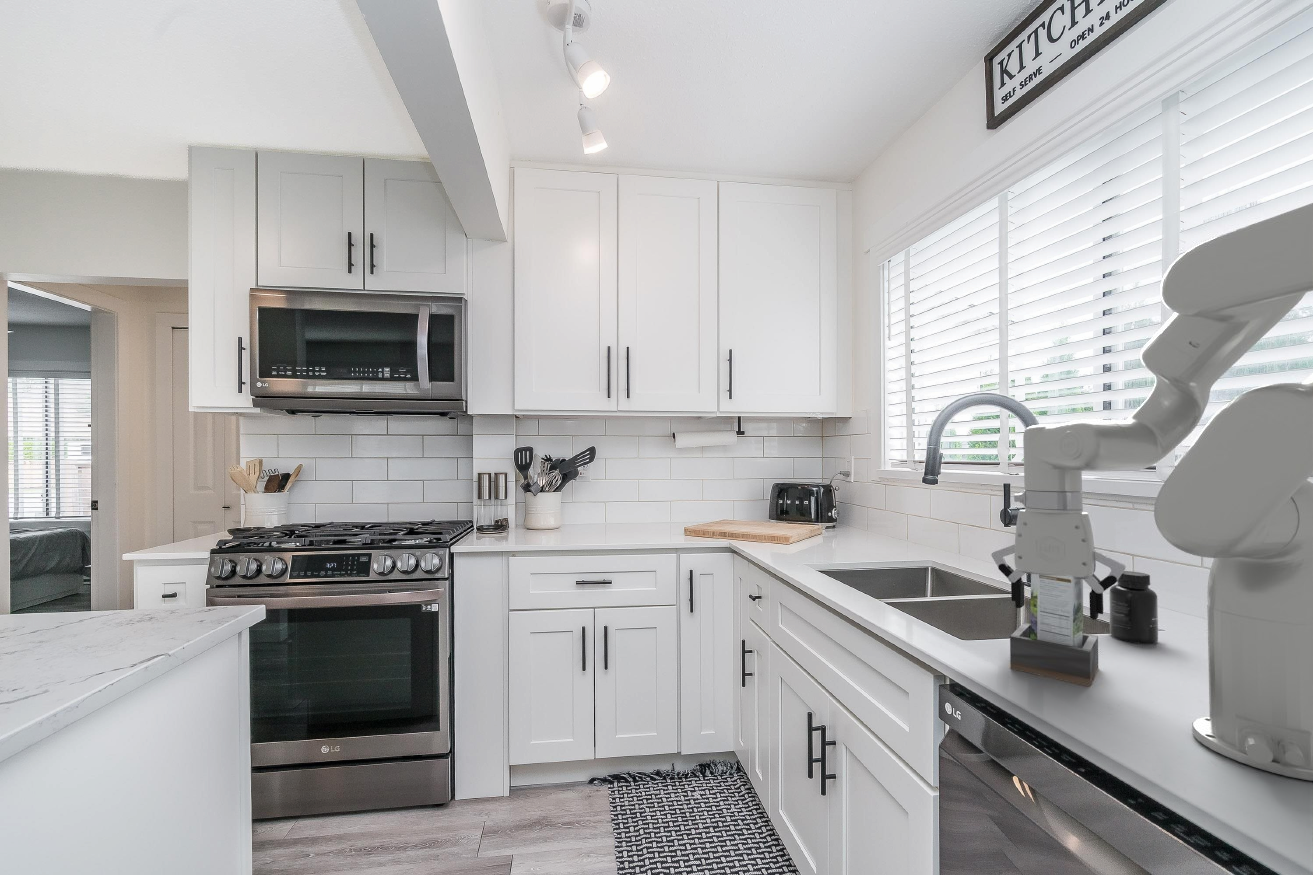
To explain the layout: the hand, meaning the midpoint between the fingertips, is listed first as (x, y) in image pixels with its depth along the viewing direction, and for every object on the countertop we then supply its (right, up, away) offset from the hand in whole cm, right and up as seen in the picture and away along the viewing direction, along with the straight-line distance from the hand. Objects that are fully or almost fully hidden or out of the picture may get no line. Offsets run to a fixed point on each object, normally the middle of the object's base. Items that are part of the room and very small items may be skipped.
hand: (1055, 611), depth 89 cm
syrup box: (0, -8, 0) cm, 8 cm away
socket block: (0, -9, 0) cm, 9 cm away
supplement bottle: (+25, -10, +15) cm, 31 cm away
